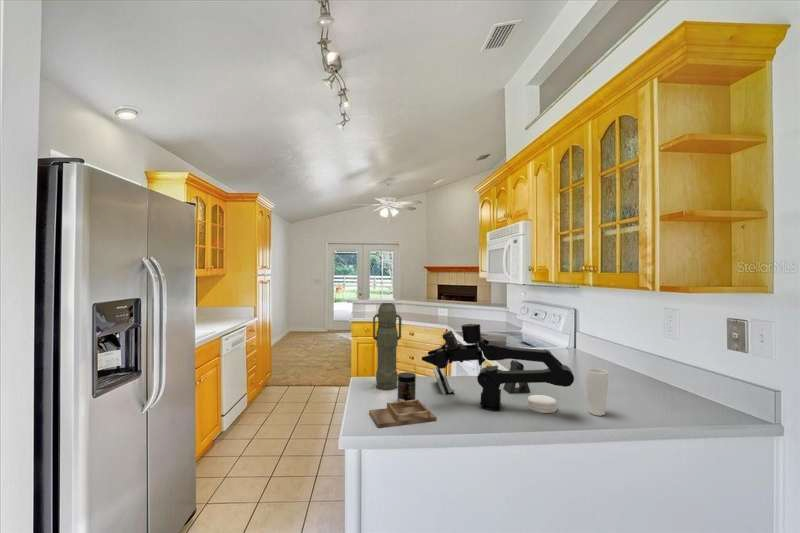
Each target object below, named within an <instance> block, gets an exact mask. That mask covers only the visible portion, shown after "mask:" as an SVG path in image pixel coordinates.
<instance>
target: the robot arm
mask: <svg viewBox="0 0 800 533" xmlns="http://www.w3.org/2000/svg"><path fill="white" fill-rule="evenodd" d="M461 333H462V338H463V339H462V340H463V342H465V343H466V344H463V343H459V342H458V341H457V338H456V336H455V334H454V332H453V330H449V331H447V332H445V333H443V334H442V335H441V337H442V339H443V340H444V341H445V342H444V343H443V345H442V346H441V347H439V348H435V349H433V350H428V351H427V355H424V356H422V357H421V361H424V362H426V363H427V364H428V363H429V364H430V365H433V366H434V367H439V368H440V369H442V368H443V369H445V368H446V367H447V366H448V364H452V363H454V362H459V363H464V362H466V361H467V362H468V361H478V362H477V363H478V366H482V365H483V363H484V362H486V360H487V361H490V362H491V361H503V360H516V361H526V362H527V361H529V362H537V363H543V364H544V365H545V366H546V367H547V368H545V369H524V370H515V371H509V370H501V369H499V366H498V365H492V366H490V365H486V367H483V368H481V369H480V370H479V373H478V376H477V378H476V380H477V383H478V384H479V386H480V387H482V390H481V393H480V405H481V406H480V408H481V409H484V410H493V411H498V412H499V411H500V410H501V408H502V406H503V405H502V389H500V387H501V385H504V384H505V383H516V384H519V383H528V384H533V383H535V384H536V383H542V384H543V383H547V384H548V385H549V384H550V385H554V386H556V387H557V386H558V387H563V388H565V387H571V385H573V383H574V381H575V376H574V374H573V371H572V370H571V369H572V368H570V367H569V366H568V365H566V364H563V363H562V362H561V361H560V360H559V359H558V358H557V357H556V356H554V355H553V354H552V352H551V351H550V350H549V349H537V348H536V349H535V348H525V347H514V346H508V345H505V344H503V343H500V342H496V341H489V340H488V339H486V338H484V337H483V336H482V333H481V324H479V323H467V324H462V325H461Z"/></svg>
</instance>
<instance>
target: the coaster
mask: <svg viewBox="0 0 800 533" xmlns="http://www.w3.org/2000/svg"><path fill="white" fill-rule="evenodd" d="M526 403H527V405H526V407H527V408H528V409H529V410H530V411H533V412H536V413H541V414H553V413H556V412H557V406H558V405H557V403H558V402H557V400H556V399H555V398H553V397H551V396H548V395H544V394H542V395H541V394H531V395H529V396H528V397H527V401H526Z"/></svg>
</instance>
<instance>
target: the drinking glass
mask: <svg viewBox="0 0 800 533" xmlns="http://www.w3.org/2000/svg"><path fill="white" fill-rule="evenodd" d="M608 386H609V372H608V371H607V370H606V369H604V368H603V369H602V368H597V367H594V368H593V367H589V368H587V369H586V391H587V392H586V393H587V394H586V395H587V410H588V413H589V414H590V415H594V416H597V417H599V416H600V417H601V416H602V415H603V416H605V415H606V406H607V397H608V396H607V395H608Z"/></svg>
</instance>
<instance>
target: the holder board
mask: <svg viewBox="0 0 800 533" xmlns="http://www.w3.org/2000/svg"><path fill="white" fill-rule="evenodd" d="M368 414H369V415H370V417H371V419H372V421H373V423H374V424H375V426H376V427H377V428H378V429H382V428H388V427H396V426H397V427H399V426H404V425H411V424H421V423H429V422H437V419H438V418H437V416H436V414H434V413H433V412H432V411H431V410H430V409H429V408H428V407H427V406H426V405H425V404H423V402H421V401H420V399H415V400H409V401H400V402H398V401H392V402H391V401H390V402H386V408H377V409H369V410H368Z"/></svg>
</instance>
